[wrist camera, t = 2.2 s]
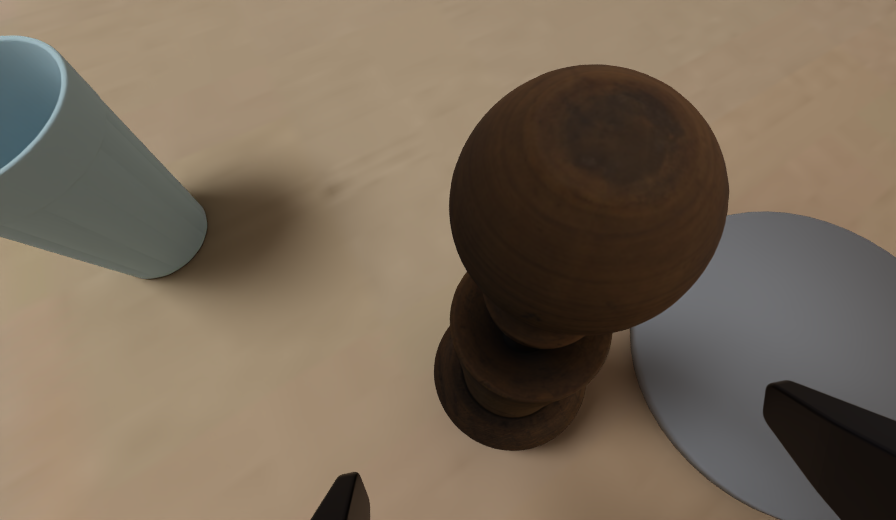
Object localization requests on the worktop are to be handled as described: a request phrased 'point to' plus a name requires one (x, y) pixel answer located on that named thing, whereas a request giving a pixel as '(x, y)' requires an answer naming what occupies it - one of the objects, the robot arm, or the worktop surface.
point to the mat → (769, 350)
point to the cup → (84, 173)
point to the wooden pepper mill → (570, 241)
